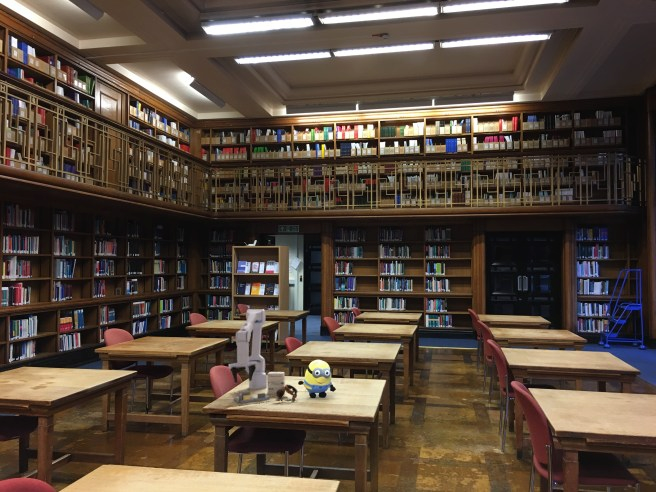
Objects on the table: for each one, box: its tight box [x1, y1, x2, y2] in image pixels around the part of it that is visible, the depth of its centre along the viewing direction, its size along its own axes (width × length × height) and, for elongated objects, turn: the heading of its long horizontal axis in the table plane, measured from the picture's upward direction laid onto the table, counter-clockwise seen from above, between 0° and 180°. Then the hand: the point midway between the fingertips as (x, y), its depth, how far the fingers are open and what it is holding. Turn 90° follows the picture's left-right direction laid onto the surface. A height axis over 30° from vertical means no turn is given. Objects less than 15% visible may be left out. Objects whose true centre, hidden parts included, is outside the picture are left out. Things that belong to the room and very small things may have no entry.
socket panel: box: [233, 393, 271, 407], centre depth 251 cm, size 16×8×2 cm, turn 117°
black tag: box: [257, 392, 266, 398], centre depth 250 cm, size 4×1×2 cm, turn 117°
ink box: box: [266, 371, 286, 395], centre depth 265 cm, size 9×5×12 cm, turn 84°
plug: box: [238, 389, 250, 400], centre depth 251 cm, size 4×5×6 cm
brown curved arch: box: [275, 384, 299, 401], centre depth 255 cm, size 12×10×8 cm
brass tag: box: [243, 394, 252, 400], centre depth 247 cm, size 4×1×2 cm, turn 117°
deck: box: [229, 391, 239, 398], centre depth 261 cm, size 8×8×1 cm
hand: (243, 381), depth 254 cm, fingers open, 7 cm apart
